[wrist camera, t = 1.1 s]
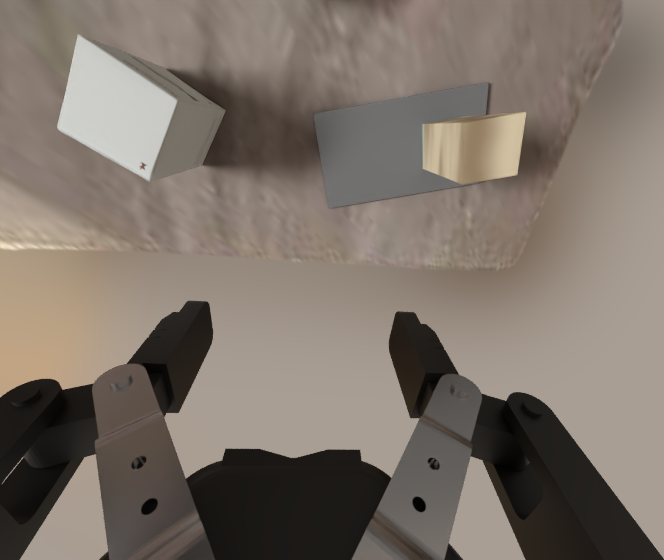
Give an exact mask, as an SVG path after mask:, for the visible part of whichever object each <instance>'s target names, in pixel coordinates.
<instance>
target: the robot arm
mask: <svg viewBox="0 0 664 560" xmlns="http://www.w3.org/2000/svg"><path fill="white" fill-rule="evenodd" d="M212 339H213V328H212V321H211V313H210V306H209V303H208V302H205V301H187V302H186V304H185V305H184V306H183V308H182V309H181V310H180V312H173V313H171V314H170V315H168V316H167V317H165V318H164V319H162V320H161V321H160V323H159V324H158V325H157V326H156V328H155V330H153V331H152V333H151V334H150V335H149V338H147V339H146V340H145V342H144V343H143V344H142V345H141V347H140V348H139V349H138V351H137V352H136V353H135V354H134V355H133V357H132V358H131V359H130V360H129V362H128V363H127V364H124V365H120V366H117V367H114V368H112V369H110V370H108V371H107V372H105V373H103V374H102V375H101V376H100V377H99V378H98V379H97V380H96V381H95V383H94V384H90V385H85V386H80V387H75V388H70V389H65V390H62V388H61V386H60V384H59V383H58V382H57V381H56V380H53V379H39V380H34V381H30V382H27V383H25V384H22V385H20V386H18V387H16V388H14V389H12V390H10V391H9V392H7V393H6V394H4V395H3V396H2V397H1V398H0V560H19V559H20V558H21V556H22V555H23V553H24V552H25V550H26V549H27V547H28V545H29V544H30V542H31V541H32V539H33V538H34V536H35V534H36V533H37V531H38V529H39V528H40V527H41V525H42V523H43V522H44V520H45V519H46V517H47V515H48V514H49V512H50V511H51V509H52V508H53V506H54V504H55V503H56V501H57V500H58V498H59V496H60V495H61V493H62V492H63V490H64V489H65V487H66V486H67V484H68V482H69V481H70V479H71V478H72V476H73V474H74V473H75V471H76V470H77V468H78V466H79V465H80V463H81V462H82V460H83V459H84V457H87V456H90V455H94V454H96V459H97V467H98V475H99V482H100V490H101V498H102V506H103V513H104V520H105V521H104V522H105V529H106V537H107V545H108V552H107V553H106V554H105V555H104V556H102V557H101V558H100V559H99V560H463V559H462V558H461V557H460V555H459V554H458V553H457V552H456V551H455V550H454V549H453V547H452V546H451V545H450V544H449V539H450V535H451V531H452V527H453V523H454V519H455V515H456V511H457V507H458V503H459V500H460V496H461V492H462V488H463V484H464V480H465V475H466V472H467V468H468V464H469V460H470V456H472V457H475V458H478V459H481V460H483V463H484V465H485V467H486V470H487V472H488V474H489V477H490V479H491V481H492V483H493V486H494V488H495V490H496V493H497V495H498V497H499V500H500V502H501V504H502V506H503V509H504V511H505V513H506V516H507V518H508V520H509V523H510V525H511V527H512V529H513V532H514V534H515V536H516V539H517V541H518V543H519V545H520V548H521V550H522V552H523V555H524V557H525V559H526V560H664V559H663V557H662V556H661V555H660V554H659V552H658V551H657V549H656V548H655V547H654V545H653V544H652V543H651V541H650V540H649V539H648V537H647V536H646V535H645V533H644V532H643V531H642V529H641V528H640V527H639V526H638V524H637V523H636V521H635V520H634V519H633V518H632V516H631V515H630V514H629V512H628V511H627V510H626V508H625V507H624V506H623V504H622V503H621V502H620V500H619V499H618V498H617V496H616V495H615V494H614V492H613V491H612V490H611V488H610V487H609V486H608V485H607V483H606V482H605V480H604V479H603V478H602V476H601V475H600V474H599V473H598V471H597V470H596V468H595V467H594V466H593V465H592V463H591V462H590V460H589V459H588V458H587V457H586V455H585V454H584V453H583V451H582V450H581V449H580V447H579V446H578V445H577V444H576V442H575V441H574V439H573V438H572V437H571V435H570V434H569V433H568V431H567V430H566V429H565V427H564V426H563V425H562V423H561V422H560V421H559V419H558V418H557V417H556V415H555V414H554V413H553V412H552V410H551V409H550V408H549V407H548V406H547V405H546V404H545V403H543V402H542V401H541V400H539V399H537V398H536V397H533V396H531V395H529V394H526V393H521V392H515V393H512V394H510V395H509V397H508V399H507V401H504V400H500V399H497V398H494V397H490V396H487V395H484V394H481V392H480V390H479V389H478V387H477V386H476V385H475V384H474V383H473V382H472V381H470V380H469V379H467V378H465V377H463V376H460V375H459V374H458V372H457V370H456V369H455V367H454V365H453V363H452V362H451V360H450V358H449V356H448V354H447V353H446V351H445V350H444V347H443V346H442V344H441V342H440V340H439V338H438V337H437V335H436V333H435V332H434V331H433V330H432V329H431V328H430V327H429V326H427V325H426V324H421V323H420V322H419V319H418V318H417V316H416V314H415V313H414V312H396V314H395V318H394V322H393V326H392V330H391V334H390V338H389V352H390V355H391V359H392V361H393V365H394V368H395V371H396V374H397V378H398V381H399V384H400V387H401V390H402V393H403V396H404V399H405V403H406V406H407V409H408V412H409V415H410V418H420V419H419V421H418V423H417V426H416V428H415V430H414V432H413V434H412V436H411V438H410V441H409V442H408V445H407V447H406V449H405V451H404V453H403V455H402V457H401V460H400V461H399V463H398V466H397V468H396V470H395V472H394V474H393V476H392V478H391V477H390V476H389V475H387V474H386V473H385V472H383V471H381V470H380V469H378V468H377V467H375V466H373V465H371V464H368V463H366V462H363V461H361V453H360V450H325V451H321V452H317V453H313V454H310V455H306V456H302V457H298V458H289V457H286V456H282V455H279V454H275V453H272V452H268V451H265V450H261V449H225V453H224V456H223V460H222V461H219V462H216V463H213V464H210V465H208V466H206V467H204V468H202V469H200V470H198V471H197V472H195V473H194V474H192V475H190V476H189V477H188V478H187V479H185V476H184V473H183V470H182V467H181V464H180V462H179V459H178V456H177V453H176V450H175V447H174V445H173V442H172V439H171V436H170V433H169V431H168V428H167V425H166V422H165V419H164V416H165V415H166V413H179V411H180V409H181V407H182V404H183V402H184V401H185V399H186V396H187V394H188V392H189V390H190V388H191V386H192V384H193V382H194V380H195V378H196V376H197V373H198V371H199V369H200V367H201V365H202V363H203V361H204V359H205V357H206V355H207V352H208V350H209V348H210V346H211V344H212ZM22 457H24V458H23V459H22V460H21V458H22ZM20 460H21V462H20V463H19V464H18V465H17V463H18V462H19V461H20ZM16 465H17V466H16ZM15 466H16V468H15V469H14V470H13V471H12V469H13V468H14V467H15ZM11 471H12V473H11V474H10V475H9V476H8V474H9V473H10V472H11ZM7 476H8V478H7V479H6V480H5V481H4V479H5V478H6V477H7ZM3 481H4V483H3ZM2 483H3V484H2ZM1 484H2V485H1Z"/></svg>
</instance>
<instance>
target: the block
mask: <svg viewBox="0 0 664 560" xmlns="http://www.w3.org/2000/svg"><path fill="white" fill-rule="evenodd" d="M525 117H526V112H520V113H506V114H492V115H478V116H464V117H458V118H453V119H447V120H442V121H436V122H430V123H425V124H422V169H425V170H427V171H430V172H432V173H435V174H437V175H440V176H442V177H445V178H447V179H450V180H452V181H455V182H457V183H460V184H467V183H473V182H479V181H485V180H491V179H497V178H503V177H509V176H515V175H517V173H518V166H519V159H520V152H521V145H522V138H523V131H524V124H525Z"/></svg>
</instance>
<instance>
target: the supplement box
mask: <svg viewBox="0 0 664 560" xmlns="http://www.w3.org/2000/svg"><path fill="white" fill-rule="evenodd" d="M224 114H225V109H223V108H221V107H220V106H218V105H217V104H215V103H213V102H212V101H210V100H209V99H207V98H206V97H204V96H203V95H201V94H200V93H199V92H197V91H196V90H194V89H193V88H191V87H190V86H188V85H187V84H186V83H184V82H183V81H181V80H180V79H179V78H177V77H176V76H174V75H173V74H172V73H170V72H169V71H168V70H166V69H165V68H163V67H161V66H158V65H156V64H153V63H151V62H149V61H146V60H143V59H141V58H138V57H136V56H134V55H131V54H128V53H126V52H123V51H121V50H118V49H115V48H113V47H110V46H107V45H105V44H102V43H100V42H97V41H95V40H92V39H90V38H87V37H85V36H82V35H80V34H79V35H78V37H77V42H76V46H75V51H74V55H73V60H72V65H71V70H70V74H69V79H68V84H67V89H66V93H65V97H64V101H63V105H62V109H61V113H60V117H59V121H58V125H57V128H58V129H59V130H60V131H61V132H63V133H64V134H66V135H68V136H70V137H71V138H73V139H75V140H77V141H79V142H81V143H82V144H84V145H86V146H88V147H89V148H91V149H93V150H95V151H97V152H98V153H100V154H102V155H103V156H105V157H107V158H108V159H110V160H112V161H114V162H116V163H118V164H120V165H121V166H123V167H125V168H127V169H128V170H130V171H132V172H134V173H136V174H137V175H139V176H141V177H143V178H144V179H146V180H148V181H150V182H151V181H154V180H157V179H160V178H164V177H167V176H170V175H173V174H176V173H179V172H183V171H186V170H189V169H192V168H195V167H198V166H202V164H203V162H204V159H205V157H206V155H207V153H208V150H209V148H210V146H211V144H212V141H213V139H214V137H215V134H216V132H217V130H218V128H219V125H220V123H221V121H222V118H223V116H224Z"/></svg>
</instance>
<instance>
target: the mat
mask: <svg viewBox="0 0 664 560" xmlns="http://www.w3.org/2000/svg"><path fill="white" fill-rule="evenodd" d="M488 84H489V82H486V83H480V84H475V85H469V86H464V87H458V88H453V89H447V90H442V91H436V92H431V93H425V94H420V95H414V96H409V97H403V98H398V99H392V100H387V101H381V102H376V103H370V104H365V105H359V106H354V107H348V108H343V109H337V110H332V111H326V112H321V113H315V114H313V116H314V123H315V129H316V135H317V141H318V147H319V153H320V159H321V165H322V171H323V177H324V183H325V190H326V196H327V202H328V208H335V207H341V206H347V205H352V204H358V203H364V202H370V201H376V200H382V199H388V198H394V197H400V196H405V195H411V194H417V193H423V192H429V191H435V190H441V189H447V188H453V187H458V186H464V185H470V184H476V183H480V181H479V182H473V183H467V184H460V183H457V182H455V181H452V180H450V179H447V178H445V177H442V176H440V175H437V174H435V173H432V172H430V171H427V170H425V169H422V124H425V123H430V122H436V121H442V120H447V119H453V118H458V117H464V116H478V115H486V107H487V96H488Z"/></svg>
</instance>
